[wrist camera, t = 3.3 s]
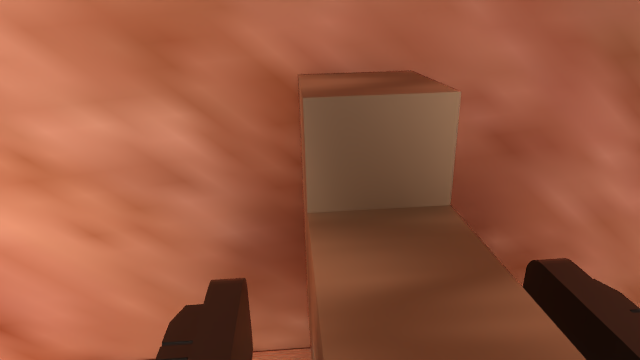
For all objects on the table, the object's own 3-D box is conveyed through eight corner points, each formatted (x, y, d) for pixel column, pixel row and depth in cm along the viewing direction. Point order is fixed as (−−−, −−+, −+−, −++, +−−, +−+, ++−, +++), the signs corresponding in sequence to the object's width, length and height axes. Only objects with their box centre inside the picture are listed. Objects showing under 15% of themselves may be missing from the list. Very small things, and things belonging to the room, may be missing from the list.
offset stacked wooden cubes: (411, 70, 13) (726, 202, 4) (398, 309, 16) (549, 699, 7) (297, 74, 13) (330, 227, 3) (308, 315, 16) (339, 726, 7)
